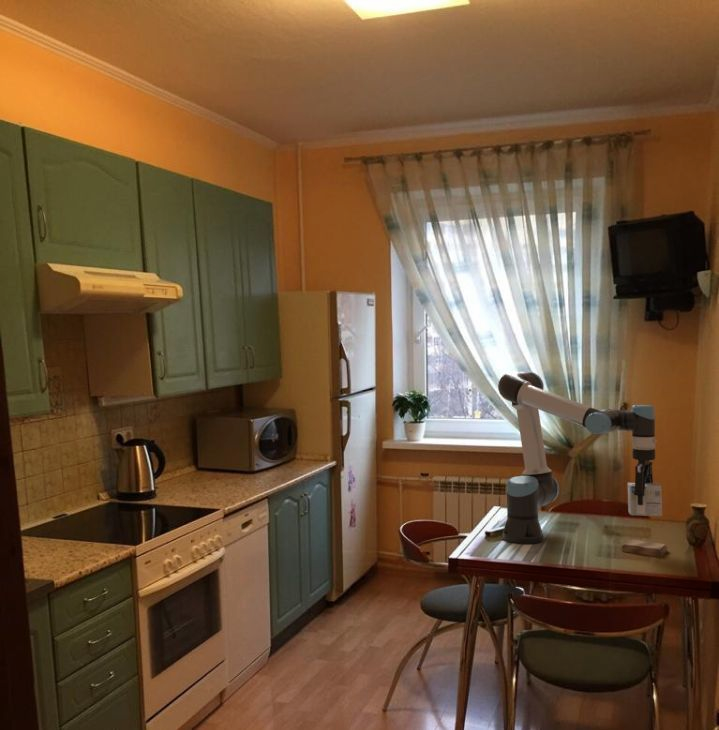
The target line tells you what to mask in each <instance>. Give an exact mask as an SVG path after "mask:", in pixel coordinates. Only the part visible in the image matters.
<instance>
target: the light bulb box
mask: <svg viewBox="0 0 719 730" xmlns="http://www.w3.org/2000/svg"><path fill="white" fill-rule="evenodd" d="M662 491H663V490H662V485H661V484H659V483H658V482H653V483H645V491H644V496H645V515H644V514H637V497H636V495H634V492H635V482H627V507H628V508H627V509H628V511H627V512H628V513H629V515H630V516H645V517H647V516H648V517H662V516H663V505H662V504H663V495H662V493H663V492H662Z"/></svg>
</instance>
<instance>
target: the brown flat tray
mask: <svg viewBox="0 0 719 730" xmlns="http://www.w3.org/2000/svg"><path fill="white" fill-rule="evenodd" d="M621 548H622V549H621V551H622V552H624V553H625V552H626V553H633V554H637V555H643V556H650V557H656V558H657V557H658V558H662V557H663V556H664V555H665V554H666V553H667V552H668V545H666V543H665V544H664V543H658V542H653V541H652V542H651V541H645V540H638V539H632V538H631V539H628V540H627V541H626V542H625V543H623V544H622V546H621Z"/></svg>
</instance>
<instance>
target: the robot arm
mask: <svg viewBox="0 0 719 730" xmlns="http://www.w3.org/2000/svg"><path fill="white" fill-rule="evenodd" d="M497 385H498V386H497V388H498V392H499V395H500V396H501V397H502V398H503V399H504V400H506V401H508V402H511V406H512V407H513V408H514V409H515V410H516V415H517V416H516V417H517V424H518V427H519V435H520V436H519V437H520V442H521V449H522V457H523V462H524V463H523V465H524V470H523V471H522V473H521V475H520V476H513V477H510V478H508V480H507V483H506V514H507V516H506V521H505V524H504V528H503V531H502V539H503V540H504V541H505V542H509V543H513V544H521V545H533V544H539V543H542V542H543V541H544V533H543V529H542V527H541V523H540V521H539V508H541V507H544V506H548V505H550V504H551V503H553V502H554V501H556V499H557V498H558V496H559V493H560V485H559V482H558V480H557V479H556V478H555V477H554V476H553V471H552V469H551V468H549V467H548V464H547V457H546V451H545V445H544V438H543V430H542V424H541V418H540V417H541V416H540V411H542V412H545V413H547V414H550V415H551V416H552V415H553V416H555V417H557V418H560V419H562V420H565V421H568V422H570V423H573V424H576V425H578V426H581V427H583V428H586V430H587V431H589V433H592V434H595V435H604V434H606V433H610V432H615V431H623V432H624V431H625V432H626V431H627V432H632V433H631V439H632V440H631V444H632V445H631V446H632V448H633V449H632V451H631V453H632V455H631V456H632V457H631V458H632V459H634V460H635V461H638V462H637V464H636V466H634V470H635V475H634V476H635V477H634V483H635V492H634V495H636V497H637V514H644V515H645V496H644V491H645V483H654V476H653V474H654V473H653V462H652V461H654V460H656V450H655V448H656V443H657V442H658V441H657V439H656V417H655V413H656V412H655V408H654V406H653V405H650V404H633V405H632V406H631V409H627V410H625V409H611V408H608V409H606V408H605V409H600V410H599V409H598V408H597V409H596V408H593V407H592V406H589V405H586V404H583V403H581V402H577V401H575V400H572V399H570V398H567V397H564V396H562V395H559V394H555V393H553V392H550V391H548V390H544V389H545V387H544V381H543V380H542V378H541V376H540V375H539V374H537V373H535V372H533V371H529V370H528V371H527V370H522V371H509V372H507V373H505V374H503V375H502V376H501V377H500V379H499V381H498V384H497ZM539 410H540V411H539Z"/></svg>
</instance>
